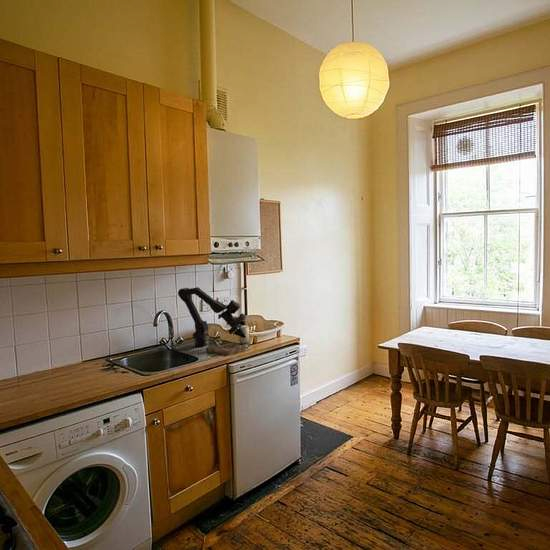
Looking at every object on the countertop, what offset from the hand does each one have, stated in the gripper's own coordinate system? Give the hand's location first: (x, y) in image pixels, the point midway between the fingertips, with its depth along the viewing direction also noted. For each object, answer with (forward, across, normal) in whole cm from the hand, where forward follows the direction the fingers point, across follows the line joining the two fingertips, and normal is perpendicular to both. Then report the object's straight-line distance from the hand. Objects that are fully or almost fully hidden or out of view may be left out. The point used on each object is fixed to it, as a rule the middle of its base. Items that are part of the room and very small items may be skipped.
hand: (247, 336), depth 248 cm
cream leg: (+4, 0, +6) cm, 7 cm away
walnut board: (0, -11, +10) cm, 15 cm away
